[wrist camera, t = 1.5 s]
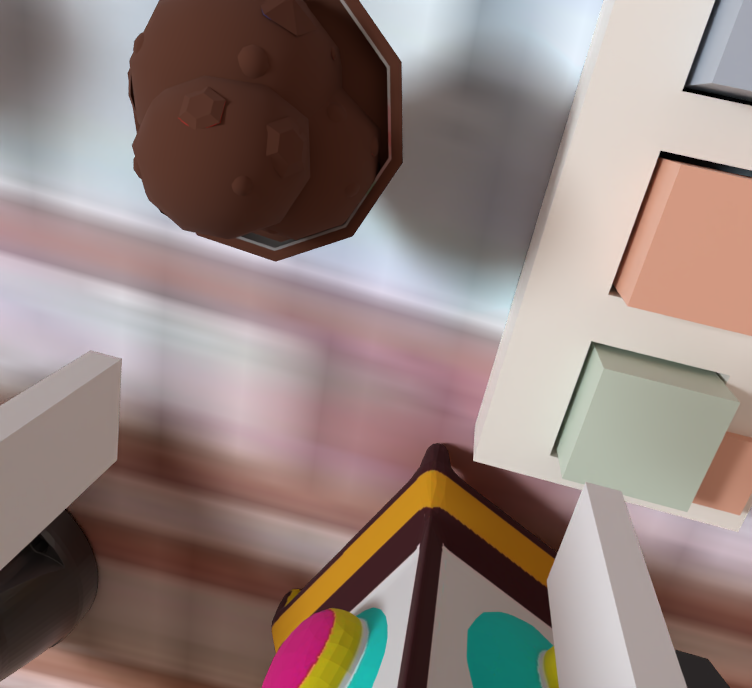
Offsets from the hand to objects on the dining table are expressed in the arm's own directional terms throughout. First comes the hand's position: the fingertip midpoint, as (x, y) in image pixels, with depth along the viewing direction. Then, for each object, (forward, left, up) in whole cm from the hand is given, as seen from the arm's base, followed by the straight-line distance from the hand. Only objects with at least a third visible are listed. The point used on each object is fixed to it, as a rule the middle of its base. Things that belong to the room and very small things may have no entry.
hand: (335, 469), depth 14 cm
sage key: (-5, -12, -20) cm, 24 cm away
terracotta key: (+4, -12, -20) cm, 24 cm away
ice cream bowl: (+6, +7, -22) cm, 24 cm away
